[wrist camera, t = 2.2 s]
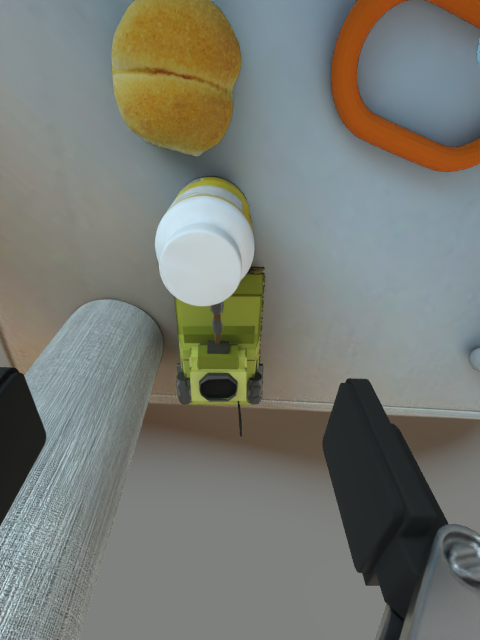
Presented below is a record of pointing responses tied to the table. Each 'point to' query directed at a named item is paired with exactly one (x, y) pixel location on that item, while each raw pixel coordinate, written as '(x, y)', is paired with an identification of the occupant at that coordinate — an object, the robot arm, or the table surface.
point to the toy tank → (222, 347)
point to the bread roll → (175, 73)
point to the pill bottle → (205, 241)
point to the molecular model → (475, 359)
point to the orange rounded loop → (468, 4)
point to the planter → (75, 467)
